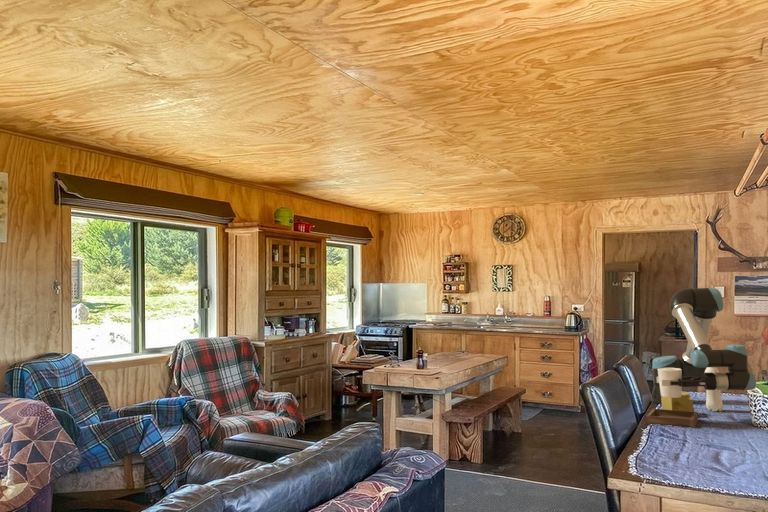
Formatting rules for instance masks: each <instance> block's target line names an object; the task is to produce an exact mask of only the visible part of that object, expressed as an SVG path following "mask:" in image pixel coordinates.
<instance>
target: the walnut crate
mask: <svg viewBox="0 0 768 512" xmlns="http://www.w3.org/2000/svg"><path fill="white" fill-rule="evenodd" d="M645 416H646V417H645V418H646V425H651V424H660V425H659V426H663V425H672V426H671V427H675V426H681V427H680V428H687V427H691V428H690V429H695V427H696V425H697V423H698V421H699V412H698V411H695V412H693V411H679V410H665V409H662V408H652V409H651V410H650V411H649V412H648V413H647V415H645Z"/></svg>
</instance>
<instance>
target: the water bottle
mask: <svg viewBox="0 0 768 512" xmlns="http://www.w3.org/2000/svg"><path fill="white" fill-rule="evenodd" d="M715 372H720V370H719V369H718V367H707V368H706V370H705V372H704V373H715ZM705 393H706V401H705V407H706V409H707V411H709V410H711V411H712V412H714V411H716V412H717V411H718V412H722V411H723V409H724V408H723V407H724V403H723V400H722V391H721V390H716V389H715V390H706V389H705Z"/></svg>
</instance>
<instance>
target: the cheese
mask: <svg viewBox="0 0 768 512" xmlns="http://www.w3.org/2000/svg"><path fill="white" fill-rule="evenodd" d="M661 402H662V404H661V409H665V410H679V411H693V412H696V410H695V408H694V400H693V398H692V396H691V395H690V394H689V393H688V392H685V391H682V396H681V397H679V398H668V397H662V396H661Z"/></svg>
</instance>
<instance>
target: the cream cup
mask: <svg viewBox="0 0 768 512" xmlns="http://www.w3.org/2000/svg"><path fill="white" fill-rule="evenodd" d="M657 370H658V377H659V385H660V393H661V396H662V397H668V398H679V397H681V396H682V390H683V389H682V388H683V387H681V386H679V385H678V386H662V381H661V380H678V379H681V380H682V369H679V368H658V369H657Z"/></svg>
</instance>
